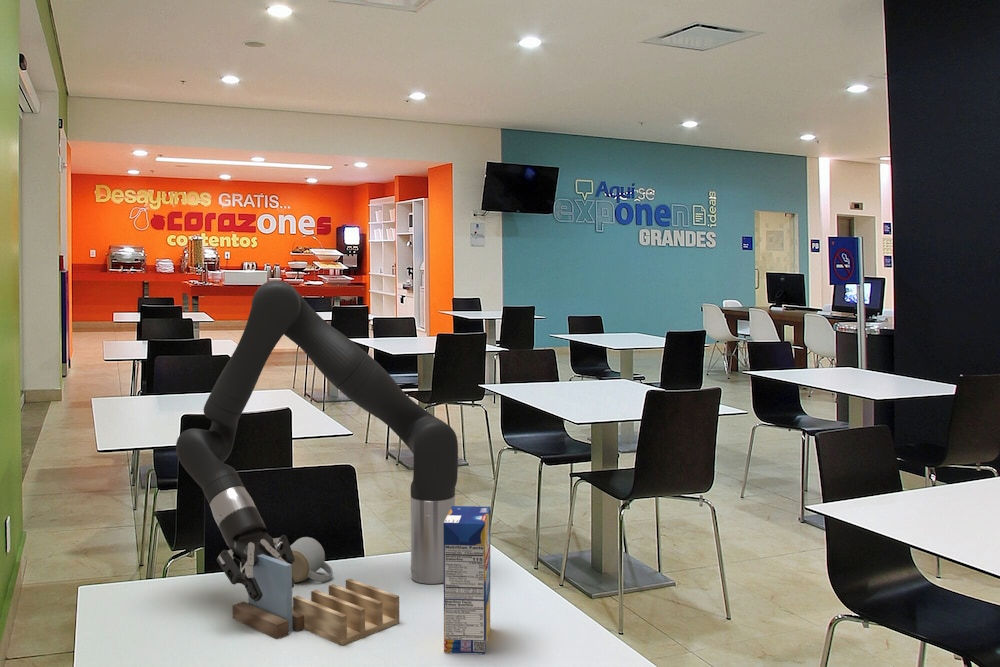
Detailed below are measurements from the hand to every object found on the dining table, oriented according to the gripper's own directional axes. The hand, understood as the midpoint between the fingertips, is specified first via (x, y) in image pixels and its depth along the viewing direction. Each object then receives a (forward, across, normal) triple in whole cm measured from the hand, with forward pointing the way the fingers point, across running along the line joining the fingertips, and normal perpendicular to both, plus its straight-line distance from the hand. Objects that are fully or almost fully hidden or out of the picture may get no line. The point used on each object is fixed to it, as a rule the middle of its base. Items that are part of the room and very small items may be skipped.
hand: (275, 593), depth 155 cm
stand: (+3, 0, +5) cm, 6 cm away
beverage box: (+26, +18, -17) cm, 36 cm away
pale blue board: (+3, 0, +5) cm, 6 cm away
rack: (+10, +9, -2) cm, 14 cm away
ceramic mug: (-7, +19, +16) cm, 26 cm away
